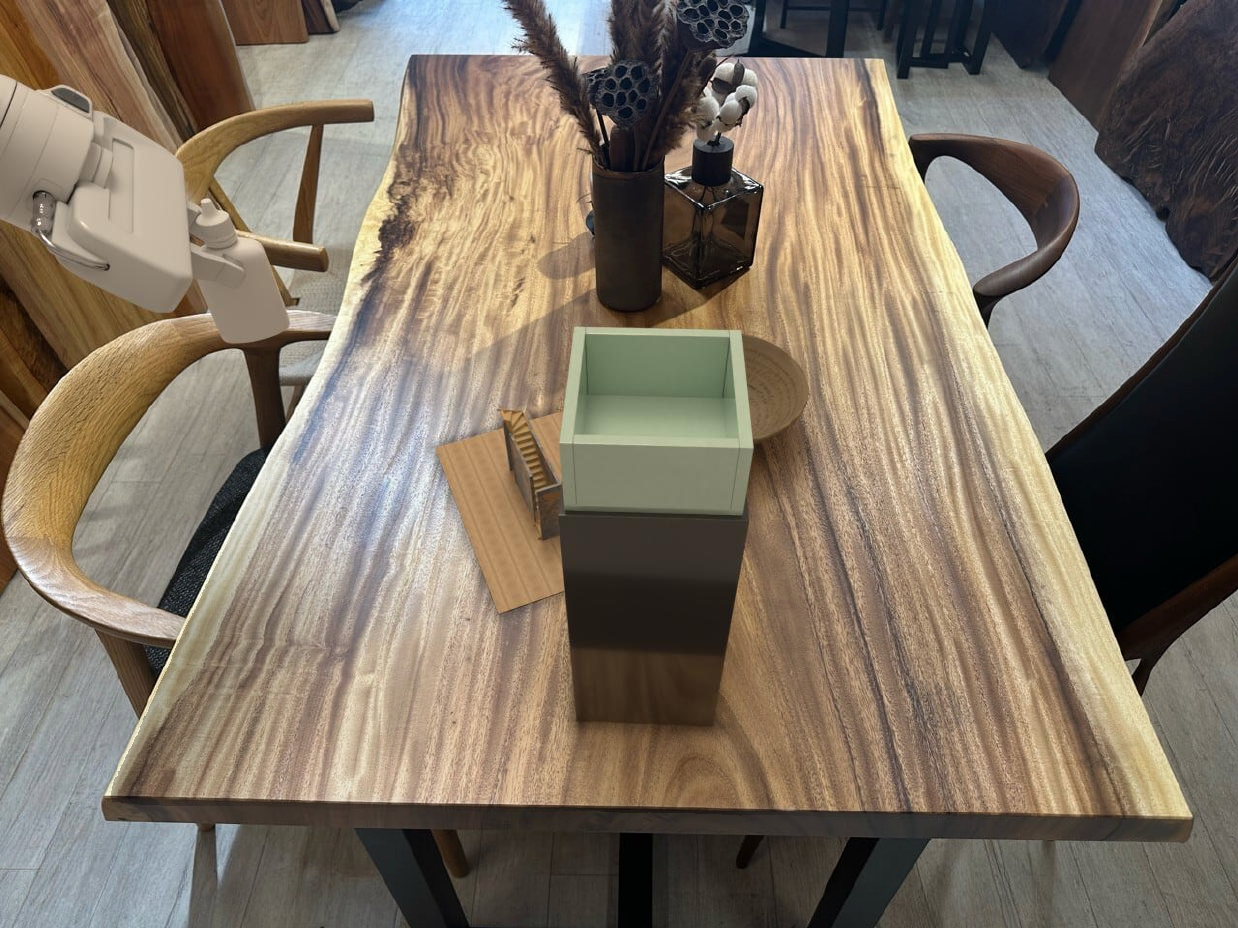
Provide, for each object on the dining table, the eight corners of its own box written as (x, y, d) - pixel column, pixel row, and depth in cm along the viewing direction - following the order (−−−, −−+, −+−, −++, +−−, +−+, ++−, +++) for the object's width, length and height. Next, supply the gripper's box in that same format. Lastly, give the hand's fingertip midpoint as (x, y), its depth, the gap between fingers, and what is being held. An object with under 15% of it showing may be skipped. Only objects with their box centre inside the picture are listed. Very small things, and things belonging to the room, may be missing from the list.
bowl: (823, 473, 91) (836, 422, 85) (665, 499, 89) (668, 448, 83) (768, 371, 104) (777, 320, 98) (629, 390, 101) (629, 340, 95)
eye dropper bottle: (235, 314, 71) (182, 185, 62) (297, 317, 71) (253, 188, 62) (214, 344, 68) (155, 213, 59) (279, 347, 68) (229, 217, 59)
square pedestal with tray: (576, 721, 71) (551, 447, 46) (585, 606, 79) (568, 322, 54) (713, 726, 70) (761, 453, 46) (708, 610, 79) (746, 326, 54)
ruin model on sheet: (434, 447, 94) (419, 384, 87) (565, 410, 99) (561, 346, 92) (498, 613, 78) (486, 552, 71) (651, 560, 83) (653, 497, 76)
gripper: (49, 197, 47) (272, 300, 57) (68, 76, 61) (247, 176, 70) (5, 279, 49) (228, 365, 59) (33, 144, 63) (211, 233, 72)
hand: (238, 261), depth 65 cm, fingers closed on eye dropper bottle, 3 cm apart
